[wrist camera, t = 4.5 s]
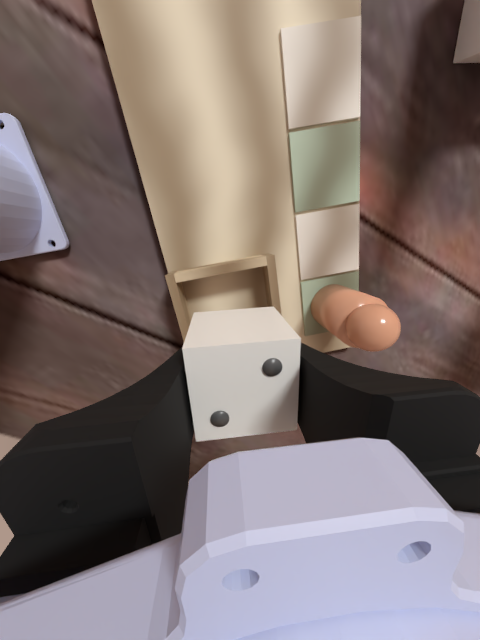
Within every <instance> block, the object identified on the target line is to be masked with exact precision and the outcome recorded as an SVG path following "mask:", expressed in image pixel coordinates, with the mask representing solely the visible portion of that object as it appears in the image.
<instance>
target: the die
mask: <svg viewBox="0 0 480 640" xmlns="http://www.w3.org/2000/svg"><path fill="white" fill-rule="evenodd" d="M300 349H301V338H300V337H299V336H298V334H297V333H296V332H295V331H294V330H293V329H292V327H291V326H290V325H289V324H288V323H287V322H286V320H285V319H284V318H283V317H282V316H281V314H280V313H279V312H278V311H277V310H276V309H275V307H274V306H273V307H260V308H247V309H233V310H220V311H207V312H194V314H193V317H192V320H191V323H190V326H189V329H188V332H187V335H186V338H185V341H184V344H183V347H182V351H183V358H184V365H185V371H186V378H187V385H188V391H189V398H190V405H191V411H192V418H193V425H194V431H195V438H196V442H198V441H206V440H215V439H224V438H232V437H241V436H250V435H258V434H267V433H275V432H284V431H293V430H297V419H298V395H299V372H300Z"/></svg>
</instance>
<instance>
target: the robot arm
mask: <svg viewBox="0 0 480 640" xmlns="http://www.w3.org/2000/svg"><path fill="white" fill-rule="evenodd" d="M2 122H3V123H4V128H3V129H1V127H0V261H4V260H9V259H15V258H20V257H26V256H31V255H37V254H42V253H48V252H53V251H59V250H64V249H67V248H68V247H69V240H68V238H67V236H66V233H65V231H64V228H63V226H62V223H61V221H60V219H59V216H58V214H57V211H56V209H55V206H54V204H53V202H52V199H51V197H50V194H49V192H48V189H47V187H46V185H45V182H44V180H43V177H42V175H41V172H40V170H39V168H38V165H37V163H36V160H35V158H34V155H33V153H32V151H31V148H30V146H29V143H28V141H27V138H26V136H25V133H24V131H23V129H22V126H21V124H20V122H19V120H18V119H16V118H15V117H14V116H12V115H10V114H8V113H0V124H1V123H2ZM52 240H53V241H54V242H55V243H56V246H55V247H54V246H53V245H52V243H51V242H52ZM297 422H298V424H299V426H300V429H301V431H302V433H303V436H304V438H305V441H306V444H298V445H290V446H281V447H273V448H265V449H256V450H248V451H240V452H235V453H232V454H229V455H226V456H223V457H220V458H217V459H214V460H211V461H210V462H208V463H207V464H206V465H205V466H204V467H203V468H202V469H201V470H200V471H199V472H197V473H196V474H195V475H194V476H193V477H192V478H191V479H190V480H189V485H188V478H189V465H190V452H191V444H192V437H193V432H194V425H193V418H192V411H191V405H190V398H189V391H188V385H187V378H186V371H185V365H184V358H183V351H182V348H181V349H179V350H178V351H177V352H176V353H175V354H174V355H173V356H172V357H170V358H169V359H168V360H167V361H166V362H165V363H163V364H162V365H161V366H159V367H158V368H157V369H156V370H154V371H153V372H152V373H150V374H149V375H147V376H146V377H144V378H143V379H141V380H140V381H138V382H137V383H135V384H133V385H132V386H130V387H128V388H126V389H124V390H122V391H120V392H118V393H116V394H114V395H112V396H110V397H108V398H106V399H104V400H102V401H99V402H97V403H95V404H92V405H90V406H87V407H85V408H83V409H80V410H77V411H75V412H72V413H69V414H66V415H63V416H60V417H57V418H54V419H51V420H48V421H45V422H42V423H38V424H36V425H35V426H34V427H33V428H32V429H31V430H30V431H29V432H28V433H27V434H26V435H25V436H24V437H23V438H22V439H21V440H20V441H19V442H18V443H17V444H16V445H15V446H14V447H13V448H12V450H10V452H8V454H7V455H6V456H5V457H4V458H3V459H2V460H1V461H0V513H1V515H2V516H3V518H4V519H5V521H6V523H7V524H8V526H9V527H10V529H11V531H12V532H13V534H14V537H13V539H12V540H11V542H10V543H9V545H8V546H7V548H6V549H5V551H4V552H3V553H2V555H1V556H0V640H480V457H479V456H478V455H476V452H477V449H478V446H479V444H480V397H479V396H478V395H476V394H475V393H473V392H471V391H470V390H468V389H466V388H465V387H463V386H461V385H460V384H458V383H456V382H454V381H449V380H439V379H429V378H419V377H411V376H405V375H399V374H393V373H388V372H383V371H378V370H374V369H370V368H366V367H362V366H358V365H355V364H352V363H349V362H346V361H342V360H340V359H337V358H334V357H332V356H329V355H327V354H325V353H322V352H320V351H318V350H316V349H314V348H312V347H309V346H307V345H305V344H303V343H301V349H300V372H299V395H298V419H297Z"/></svg>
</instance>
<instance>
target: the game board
mask: <svg viewBox="0 0 480 640" xmlns="http://www.w3.org/2000/svg"><path fill="white" fill-rule="evenodd" d="M92 3H93V7H94V10H95V14H96V17H97V21H98V25H99V28H100V32H101V35H102V39H103V42H104V46H105V50H106V53H107V57H108V60H109V64H110V67H111V71H112V74H113V78H114V82H115V85H116V89H117V92H118V96H119V99H120V103H121V107H122V110H123V114H124V117H125V121H126V124H127V128H128V132H129V135H130V139H131V142H132V146H133V149H134V153H135V157H136V160H137V164H138V167H139V171H140V174H141V178H142V181H143V185H144V189H145V192H146V196H147V199H148V203H149V206H150V210H151V214H152V217H153V221H154V224H155V228H156V231H157V235H158V239H159V242H160V246H161V249H162V253H163V256H164V260H165V264H166V267H167V271H168V274H167V275H165V278H166V281H167V285H168V288H169V292H170V295H171V299H172V302H173V306H174V309H175V313H176V316H177V320H178V323H179V327H180V330H181V334H182V337H183V341H185V338H186V335H187V332H188V329H189V326H190V323H191V320H192V317H193V314H194V312H207V311H220V310H233V309H247V308H260V307H273V306H274V307H275V309H276V310H277V311H278V312H279V313H280V314H281V316H282V317H283V318H284V319H285V320H286V322H287V323H288V324H289V325H290V326H291V327H292V329H293V330H294V331H295V332H296V333H297V334H298V336H299V337H300V338H301V343H303V344H305V345H307V346H309V347H312V348H314V349H316V350H318V351H320V352H322V353H324V352H329V351H334V350H339V349H344V348H349V347H350V346H348V345H346V344H345V343H343V342H342V341H341V340H340V339H338V338H337V337H336V336H335V335H333V334H332V333H331V332H329V331H328V330H327V329H326V328H324V327H323V326H322V325H320V324H319V323H318V322H317V321H316V320H315V319H314V318H313V316H312V314H311V302H312V300H313V297H314V296H315V294H316V293H317V292H318V291H319V290H320V289H321V288H323V287H325V286H327V285H330V284H339V285H342V286H345V287H348V288H351V289H353V290H356V291H359V201H360V86H361V0H92Z"/></svg>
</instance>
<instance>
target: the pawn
mask: <svg viewBox="0 0 480 640" xmlns="http://www.w3.org/2000/svg"><path fill="white" fill-rule="evenodd" d="M311 314H312V316H313V318H314V319H315V320H316V321H317V322H318V323H319V324H320V325H322V326H323V327H324V328H326V329H327V330H328V331H329V332H331V333H332V334H333V335H335V336H336V337H337V338H338V339H340V340H341V341H342V342H343V343H345V344H346V345H348V346H350V347H355V348H360V349H363V350H366V351H381V350H385V349H387V348H389V347H390V346H392V345H393V344H394V343H395V342H396V341H397V339H398V338H399V335H400V332H401V324H400V320H399V318H398V316H397V315H396V314H395V313H394V311H392V310H391V309H390V308H388V307H387V305H386V304H385V303H384V302H383V301H382V300H381V299H379V298H376V297H374V296H371V295H368V294H365V293H362V292H359V291H356V290H353V289H351V288H348V287H345V286H342V285H339V284H330V285H327V286H325V287H323V288H321V289H320V290H319V291H318V292H317V293H316V294H315V296H314V297H313V300H312V302H311Z"/></svg>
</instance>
